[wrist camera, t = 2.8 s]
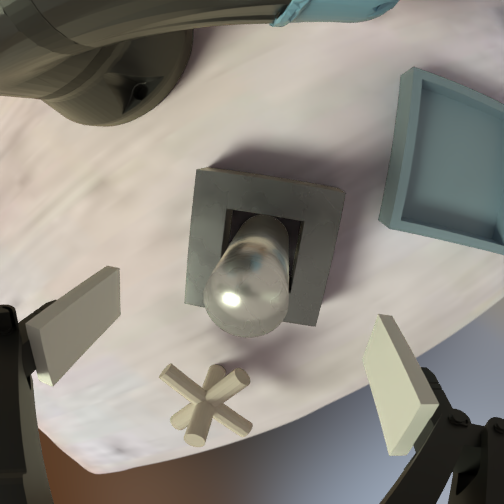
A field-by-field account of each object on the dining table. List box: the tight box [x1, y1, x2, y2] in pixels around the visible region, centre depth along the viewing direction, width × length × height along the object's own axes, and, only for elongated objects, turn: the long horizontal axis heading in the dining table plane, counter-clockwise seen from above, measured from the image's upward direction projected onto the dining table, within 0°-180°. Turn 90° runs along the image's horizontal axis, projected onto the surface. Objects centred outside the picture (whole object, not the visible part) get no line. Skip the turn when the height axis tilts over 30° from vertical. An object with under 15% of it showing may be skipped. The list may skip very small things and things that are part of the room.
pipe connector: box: [159, 363, 253, 447], centre depth 28 cm, size 10×10×10 cm
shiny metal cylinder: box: [204, 215, 289, 338], centre depth 22 cm, size 4×4×12 cm
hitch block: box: [185, 167, 346, 327], centre depth 26 cm, size 11×11×4 cm
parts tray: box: [378, 67, 504, 255], centre depth 22 cm, size 13×13×3 cm
